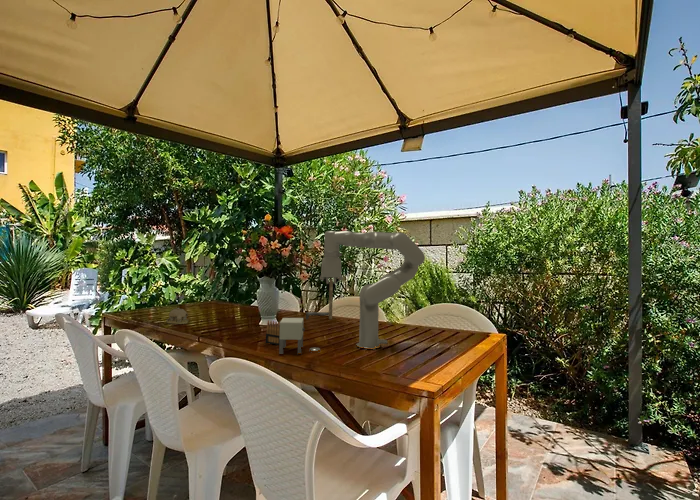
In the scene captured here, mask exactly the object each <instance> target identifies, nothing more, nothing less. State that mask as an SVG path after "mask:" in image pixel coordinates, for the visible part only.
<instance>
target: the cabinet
mask: <svg viewBox="0 0 700 500" xmlns="http://www.w3.org/2000/svg"><path fill="white" fill-rule="evenodd" d="M279 323H280V340H279V346H278V347H279V349H278V355H279V354H283V355H284V349H283V348H285V347H286V348H287V340H296V341H297V354H298V353H301V354H302V349H301V347H303V348H304V332H305V327H304V317H282V319H281V320H280V321H279Z"/></svg>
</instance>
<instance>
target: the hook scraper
mask: <svg viewBox="0 0 700 500" xmlns="http://www.w3.org/2000/svg"><path fill="white" fill-rule="evenodd" d="M333 282H334V278H329V284H330V286H329V292H328V296H329V297H328V312H326V311H325V312H324V311H323V312H321V311H317V312H316V311H314V312H313V311H306V312H305V320H309V318H310V317H309V316H328V320H333V293H334V292H333Z"/></svg>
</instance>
